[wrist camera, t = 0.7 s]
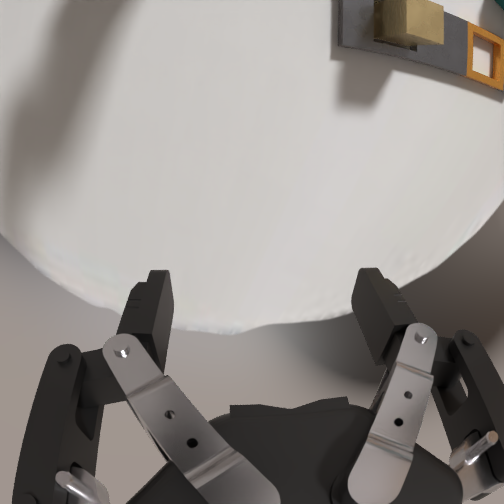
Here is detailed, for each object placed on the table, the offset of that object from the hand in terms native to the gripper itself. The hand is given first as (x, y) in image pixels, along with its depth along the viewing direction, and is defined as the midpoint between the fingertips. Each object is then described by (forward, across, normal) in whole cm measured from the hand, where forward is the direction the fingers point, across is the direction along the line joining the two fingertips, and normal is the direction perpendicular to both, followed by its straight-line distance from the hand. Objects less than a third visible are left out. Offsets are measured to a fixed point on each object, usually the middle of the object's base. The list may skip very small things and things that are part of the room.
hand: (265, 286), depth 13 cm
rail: (+25, -24, -17) cm, 39 cm away
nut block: (+26, -17, -16) cm, 35 cm away
